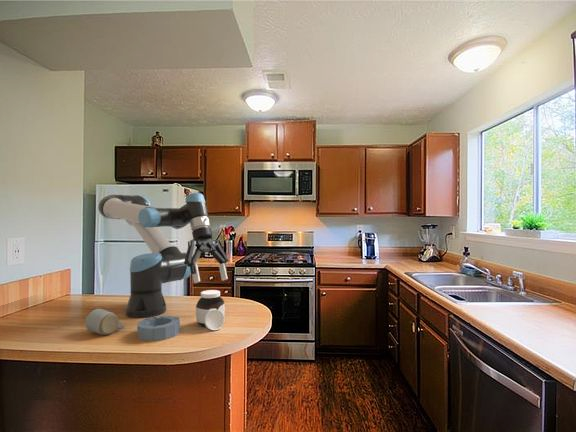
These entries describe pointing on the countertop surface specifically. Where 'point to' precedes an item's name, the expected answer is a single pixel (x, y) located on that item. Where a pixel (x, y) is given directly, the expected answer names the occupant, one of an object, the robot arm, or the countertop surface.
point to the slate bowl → (158, 328)
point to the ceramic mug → (102, 322)
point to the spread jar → (210, 310)
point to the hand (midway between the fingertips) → (211, 281)
